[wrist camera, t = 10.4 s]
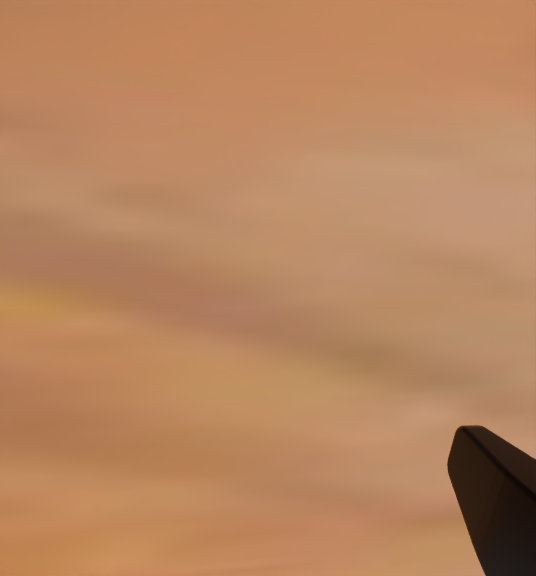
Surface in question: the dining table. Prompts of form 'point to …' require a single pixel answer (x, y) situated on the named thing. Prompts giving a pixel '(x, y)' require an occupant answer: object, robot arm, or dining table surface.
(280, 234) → the dining table surface
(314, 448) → the dining table surface
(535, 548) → the robot arm
